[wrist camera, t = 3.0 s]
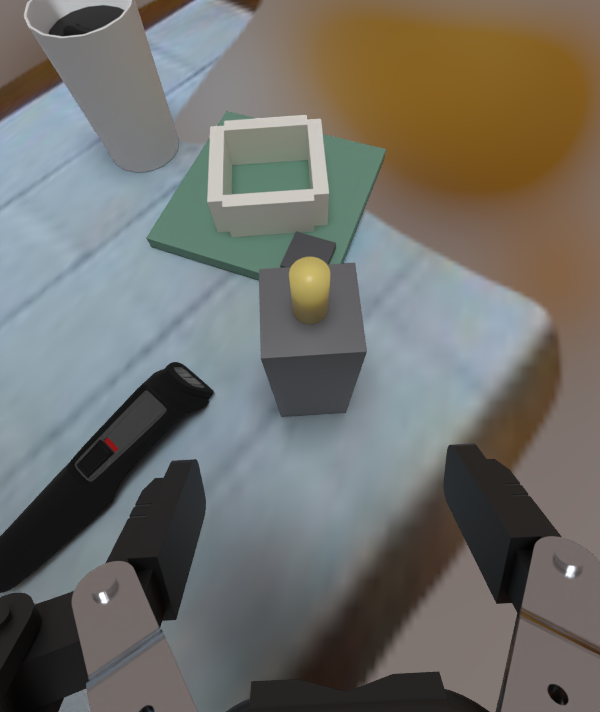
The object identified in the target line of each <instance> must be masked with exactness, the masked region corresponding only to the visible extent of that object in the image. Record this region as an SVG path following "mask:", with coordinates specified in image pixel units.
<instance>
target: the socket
mask: <svg viewBox="0 0 600 712" xmlns="http://www.w3.org/2000/svg"><path fill="white" fill-rule="evenodd" d="M300 160H308V166H309V177H310V189H303V190H289V191H274V192H260V193H246V194H232V165H243V164H258V163H272V162H286V161H300ZM207 203H208V206H209V209H210V212H211V214H212V217H213V220H214V223H215V226H216V229H217V232H218V233H220V232H230V234H231V237H243V236H257V235H272V234H286V233H295V232H296V231H297V232H300V233H301V232H314V226H321V225H328V206H329V188H328V179H327V170H326V161H325V152H324V143H323V134H322V125H321V119H312V120H307V115H298V116H284V117H271V118H256V119H242V120H228V121H224V126H213V127H210V146H209V171H208V195H207Z"/></svg>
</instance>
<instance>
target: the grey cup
mask: <svg viewBox="0 0 600 712" xmlns="http://www.w3.org/2000/svg"><path fill="white" fill-rule="evenodd" d="M24 18H25V20H26V22H27V25H28V27H29V28H30V30H31V32H32V33H33V35H34V36H35V38H36V39H37V41H38V43H39V44H40V46H41V47H42V49H43V50H44V52H45V53H46V55H47V57H48V58H49V60H50V61H51V63H52V64H53V66H54V68H55V69H56V71H57V72H58V74H59V75H60V77H61V79H62V80H63V82H64V83H65V85H66V86H67V88H68V90H69V91H70V93H71V94H72V96H73V97H74V99H75V100H76V102H77V104H78V105H79V107H80V108H81V110H82V111H83V113H84V115H85V116H86V118H87V119H88V121H89V122H90V124H91V126H92V127H93V129H94V130H95V132H96V133H97V135H98V136H99V138H100V140H101V141H102V143H103V144H104V146H105V147H106V149H107V151H108V152H109V154H110V155H111V157H112V158H113V160H114V162H115V163H116V164H117V165H118V166H120V167H121V168H123V169H124V170H127V171H132V172H136V173H138V172H148V171H152V170H155V169H157V168H160V167H162V166H164V165H165V164H166V163H168V162H169V161H170V160H171V159H172V158H173V157H174V155H175V154H176V152H177V150H178V141H179V139H178V136H177V133H176V130H175V126H174V123H173V120H172V117H171V114H170V111H169V107H168V104H167V101H166V98H165V95H164V91H163V88H162V85H161V82H160V79H159V76H158V72H157V69H156V66H155V63H154V60H153V56H152V53H151V50H150V47H149V44H148V41H147V37H146V34H145V31H144V28H143V25H142V21H141V18H140V15H139V12H138V9H137V5H136V3H135V0H30V1H29V2H28V3H27V5H26V9H25V13H24Z"/></svg>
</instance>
